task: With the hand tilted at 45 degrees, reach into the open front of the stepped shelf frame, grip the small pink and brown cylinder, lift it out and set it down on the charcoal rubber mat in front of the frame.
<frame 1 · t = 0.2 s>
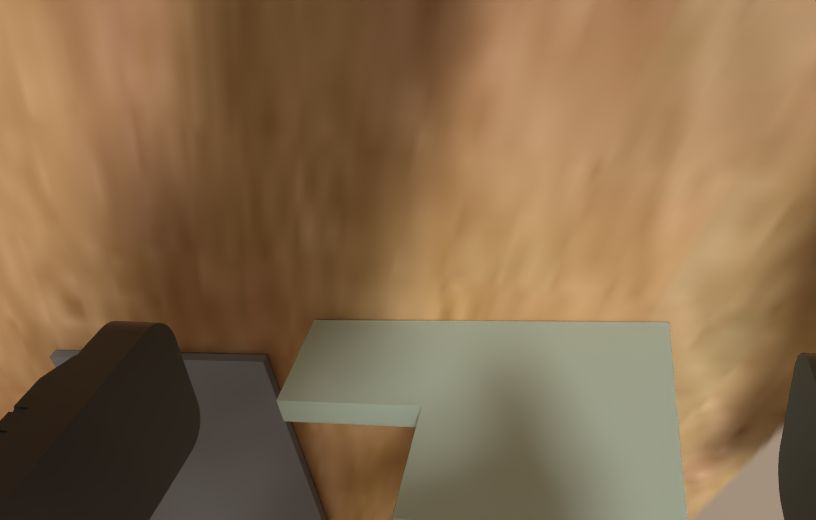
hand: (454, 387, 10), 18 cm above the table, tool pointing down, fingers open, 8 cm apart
charcoal mat: (212, 470, 43), on the table
stepped shelf frame: (494, 489, 39), on the table
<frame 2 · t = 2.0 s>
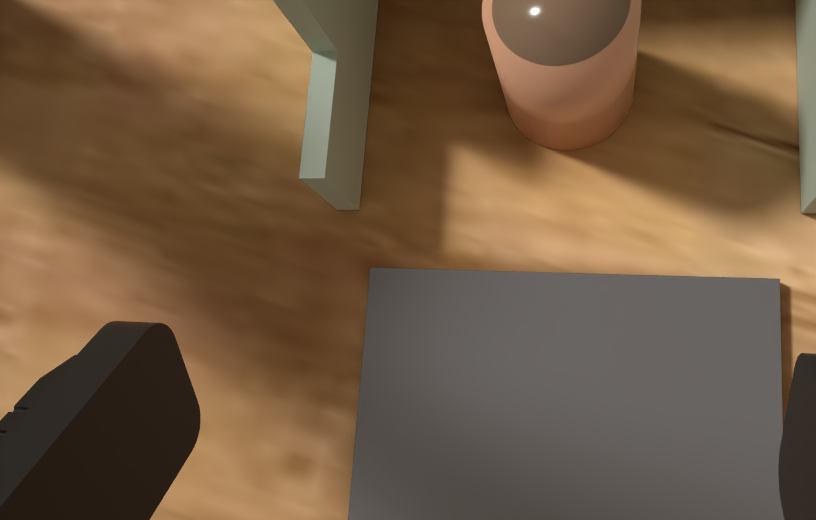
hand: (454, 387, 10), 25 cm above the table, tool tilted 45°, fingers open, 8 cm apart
charcoal mat: (557, 408, 34), on the table
stepped shelf frame: (569, 71, 37), on the table
pink and brown cylinder: (568, 91, 37), on the table
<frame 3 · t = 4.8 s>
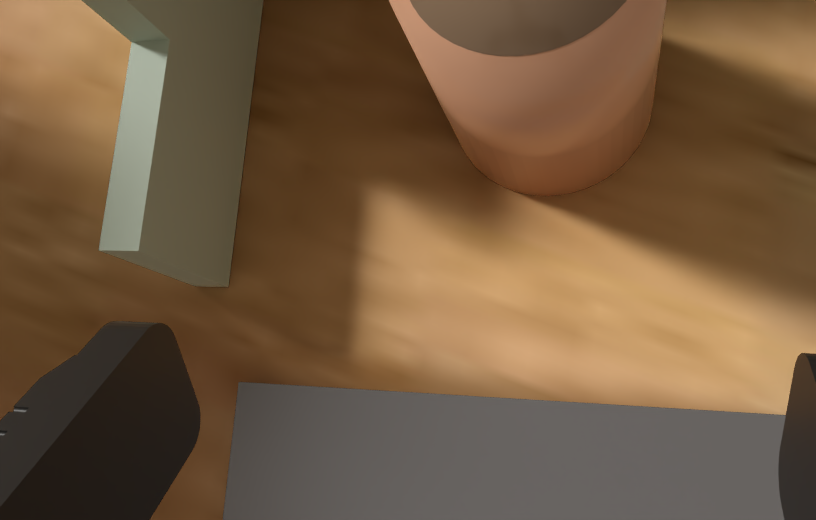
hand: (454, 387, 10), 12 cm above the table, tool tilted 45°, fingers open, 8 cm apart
stepped shelf frame: (550, 70, 24), on the table
pink and brown cylinder: (550, 101, 23), on the table
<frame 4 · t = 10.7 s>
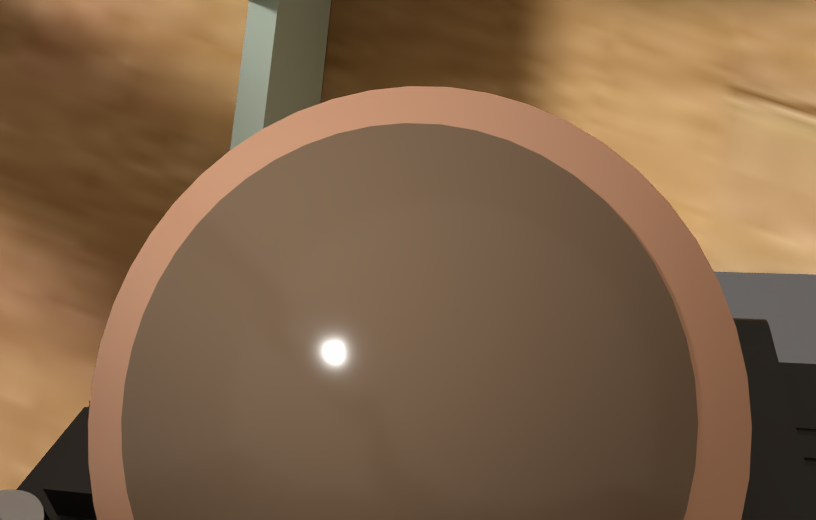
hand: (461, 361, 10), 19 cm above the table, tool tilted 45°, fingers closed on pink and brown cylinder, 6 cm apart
charcoal mat: (543, 432, 28), on the table
stepped shelf frame: (560, 27, 31), on the table
pink and brown cylinder: (503, 421, 14), point 14 cm above the table, touching gripper
when the fingers open (6 cm above the table, at t = 14.0 s): pink and brown cylinder drops 1 cm, resting on charcoal mat.
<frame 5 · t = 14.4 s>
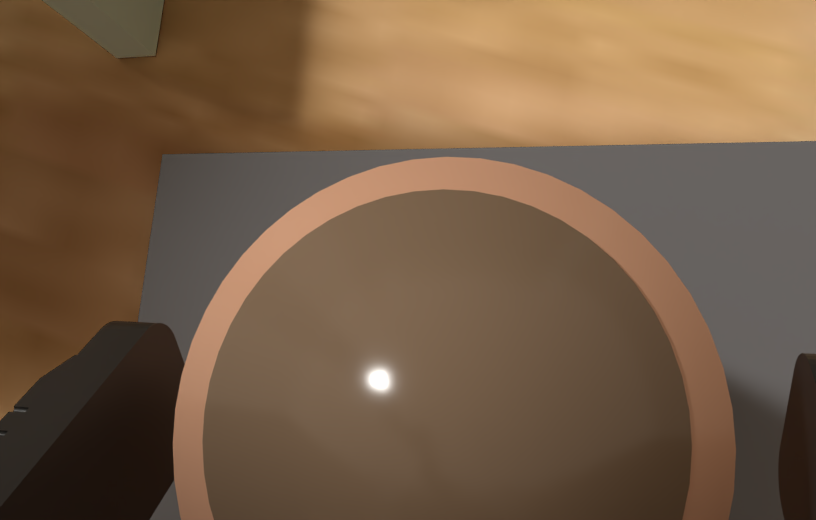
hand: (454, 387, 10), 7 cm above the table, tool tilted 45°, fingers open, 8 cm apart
charcoal mat: (513, 424, 16), on the table
pink and brown cylinder: (514, 430, 16), point 1 cm above the table, touching charcoal mat
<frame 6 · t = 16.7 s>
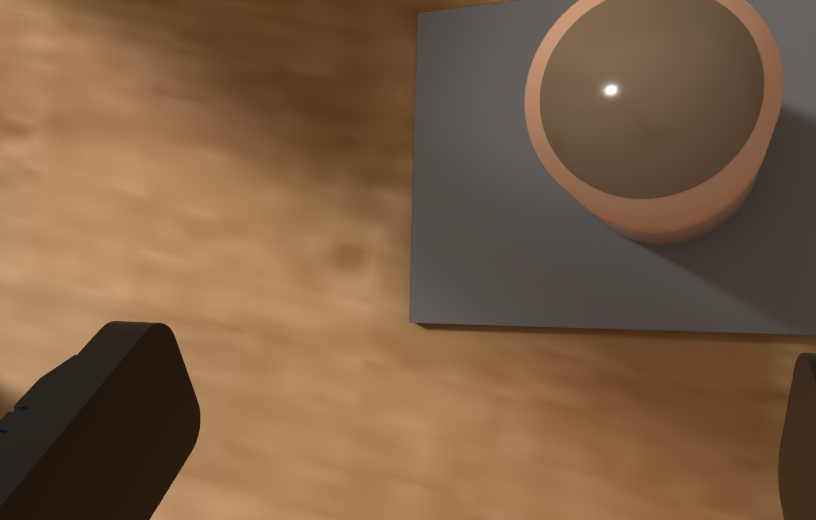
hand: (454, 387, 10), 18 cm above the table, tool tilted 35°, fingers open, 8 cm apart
charcoal mat: (661, 156, 27), on the table
pink and brown cylinder: (663, 157, 26), point 1 cm above the table, touching charcoal mat
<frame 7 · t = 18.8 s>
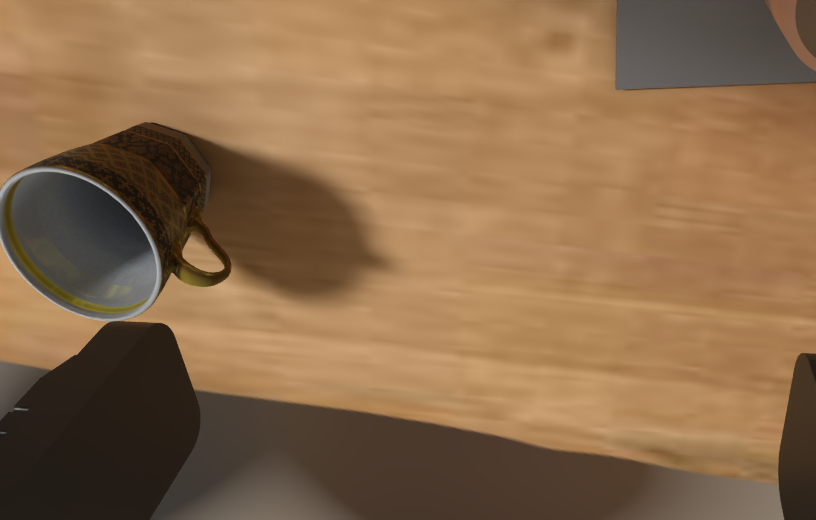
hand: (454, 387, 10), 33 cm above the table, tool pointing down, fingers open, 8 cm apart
ceramic cup: (187, 175, 50), on the table
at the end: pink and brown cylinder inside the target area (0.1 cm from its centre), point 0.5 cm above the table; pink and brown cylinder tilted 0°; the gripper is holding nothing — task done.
